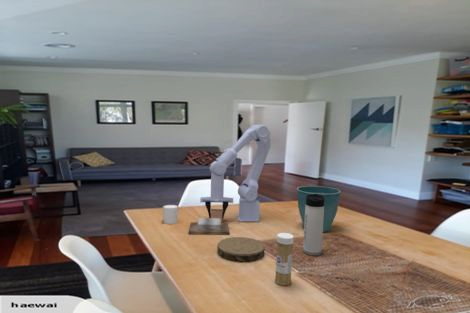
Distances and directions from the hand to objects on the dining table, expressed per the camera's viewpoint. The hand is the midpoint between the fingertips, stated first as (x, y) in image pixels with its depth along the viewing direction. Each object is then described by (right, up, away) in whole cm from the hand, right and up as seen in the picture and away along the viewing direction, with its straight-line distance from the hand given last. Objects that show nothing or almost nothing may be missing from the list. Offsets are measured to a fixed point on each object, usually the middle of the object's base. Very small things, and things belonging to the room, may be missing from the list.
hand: (216, 218), depth 146 cm
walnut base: (-2, -2, -12) cm, 12 cm away
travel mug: (+35, -6, -32) cm, 48 cm away
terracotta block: (0, -1, 0) cm, 2 cm away
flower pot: (+43, -4, -5) cm, 44 cm away
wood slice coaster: (+10, -6, -35) cm, 37 cm away
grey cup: (-20, -1, -3) cm, 20 cm away
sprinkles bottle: (+22, -7, -55) cm, 60 cm away
